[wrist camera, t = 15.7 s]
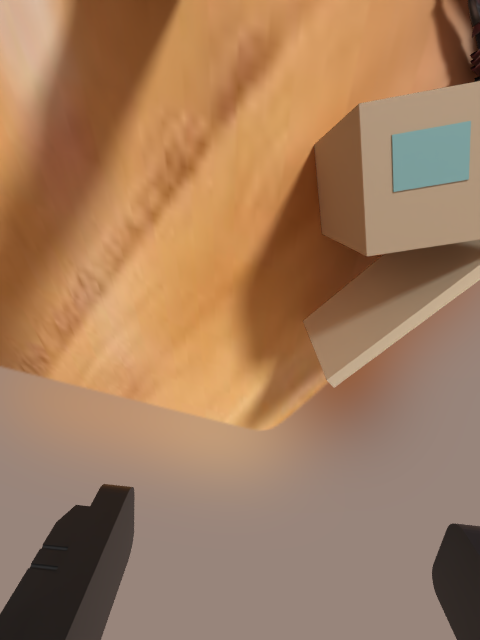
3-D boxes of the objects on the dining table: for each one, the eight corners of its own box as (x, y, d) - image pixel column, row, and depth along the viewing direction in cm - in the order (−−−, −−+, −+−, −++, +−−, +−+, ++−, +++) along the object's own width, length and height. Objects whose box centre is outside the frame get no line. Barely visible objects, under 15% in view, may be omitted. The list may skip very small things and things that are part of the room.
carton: (322, 234, 44) (367, 258, 26) (314, 144, 41) (359, 103, 23) (414, 220, 43) (525, 234, 25) (413, 126, 40) (539, 69, 22)
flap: (421, 223, 42) (517, 236, 27) (426, 229, 42) (524, 246, 27) (302, 321, 46) (326, 380, 31) (307, 326, 46) (333, 387, 31)
